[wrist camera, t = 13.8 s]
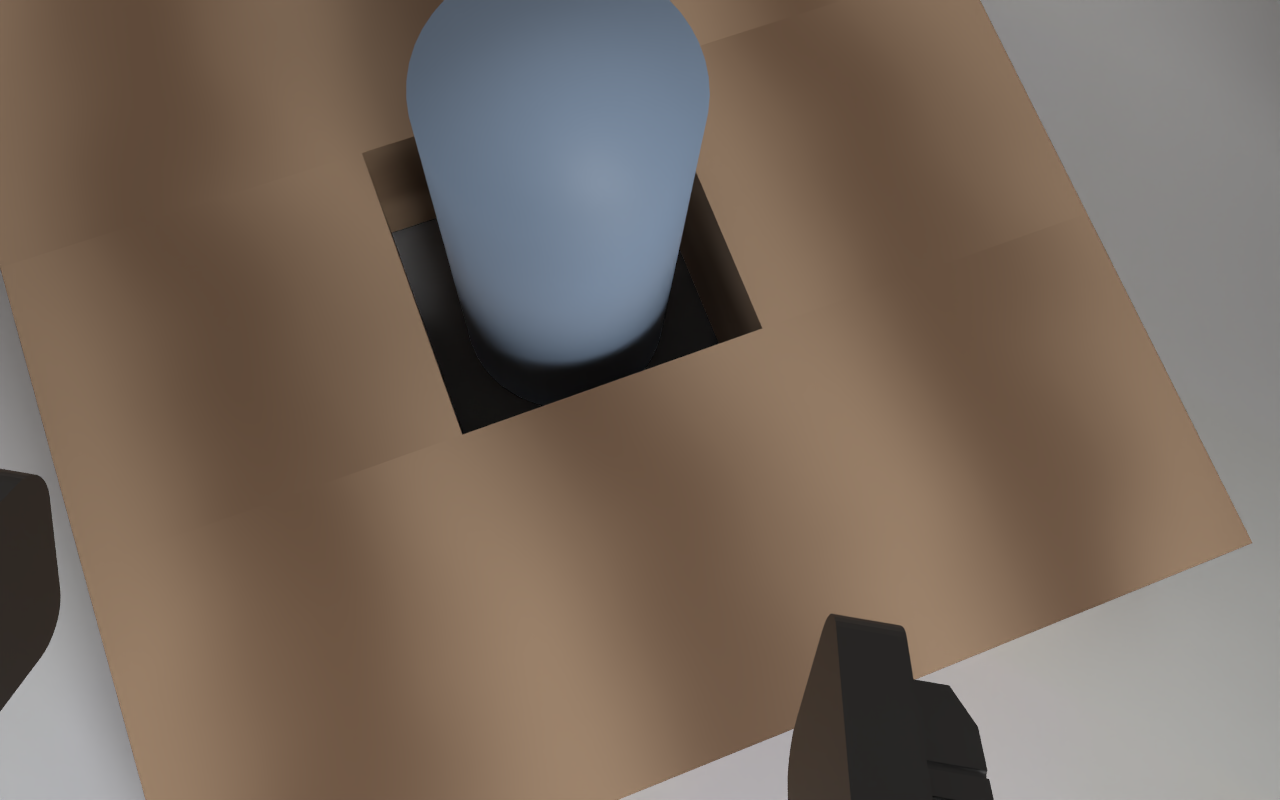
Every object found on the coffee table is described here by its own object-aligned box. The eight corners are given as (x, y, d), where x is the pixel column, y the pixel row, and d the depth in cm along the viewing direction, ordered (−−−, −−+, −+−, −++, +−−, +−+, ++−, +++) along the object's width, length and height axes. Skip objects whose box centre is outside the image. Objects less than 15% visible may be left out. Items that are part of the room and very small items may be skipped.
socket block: (798, -171, 31) (829, -299, 27) (1153, 569, 27) (1252, 542, 23) (5, 62, 28) (-85, -43, 24) (254, 932, 24) (192, 971, 20)
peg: (622, 196, 28) (645, -80, 19) (692, 368, 27) (755, 171, 18) (439, 257, 28) (366, 4, 18) (505, 435, 27) (464, 270, 17)
